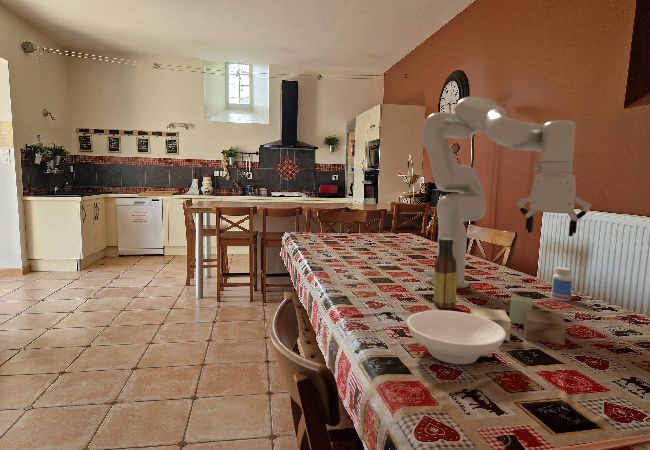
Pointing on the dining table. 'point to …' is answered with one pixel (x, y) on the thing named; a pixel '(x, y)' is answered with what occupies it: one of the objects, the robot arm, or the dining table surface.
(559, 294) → the pill bottle
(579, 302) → the dining table surface
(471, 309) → the beech block
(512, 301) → the sage block
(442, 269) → the sauce bottle
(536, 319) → the tan square block
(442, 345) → the bowl
